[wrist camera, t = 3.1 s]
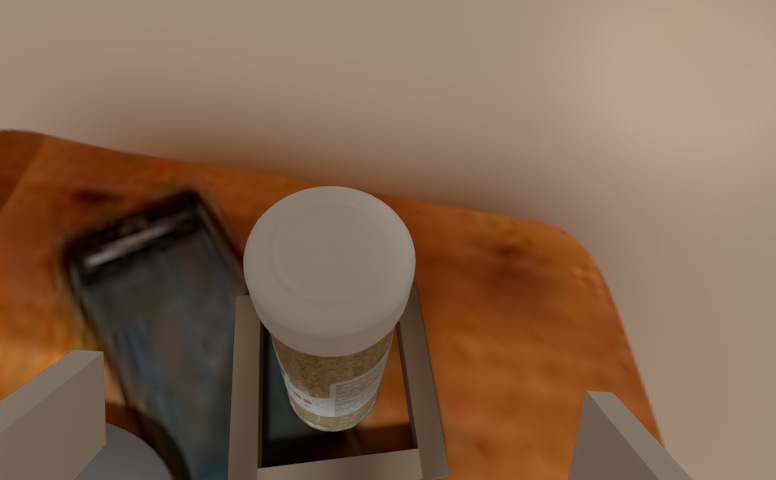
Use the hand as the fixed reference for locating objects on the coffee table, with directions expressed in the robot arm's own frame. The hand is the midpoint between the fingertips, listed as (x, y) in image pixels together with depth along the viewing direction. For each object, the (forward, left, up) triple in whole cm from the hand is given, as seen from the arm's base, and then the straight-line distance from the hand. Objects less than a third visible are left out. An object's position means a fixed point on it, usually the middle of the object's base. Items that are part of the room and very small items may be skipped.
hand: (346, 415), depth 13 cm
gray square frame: (0, +4, -10) cm, 11 cm away
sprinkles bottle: (0, +4, -11) cm, 11 cm away
